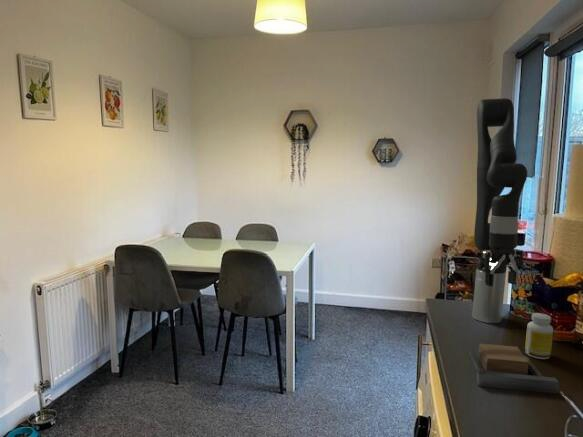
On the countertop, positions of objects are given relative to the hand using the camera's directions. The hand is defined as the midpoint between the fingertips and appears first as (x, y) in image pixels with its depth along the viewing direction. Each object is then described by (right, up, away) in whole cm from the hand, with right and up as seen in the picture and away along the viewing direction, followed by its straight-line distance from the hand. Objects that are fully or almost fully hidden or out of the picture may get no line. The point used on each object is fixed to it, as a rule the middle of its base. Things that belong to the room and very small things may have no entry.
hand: (500, 284), depth 132 cm
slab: (-6, -20, -13) cm, 25 cm away
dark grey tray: (-6, -20, -17) cm, 27 cm away
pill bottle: (+7, -19, -7) cm, 22 cm away
